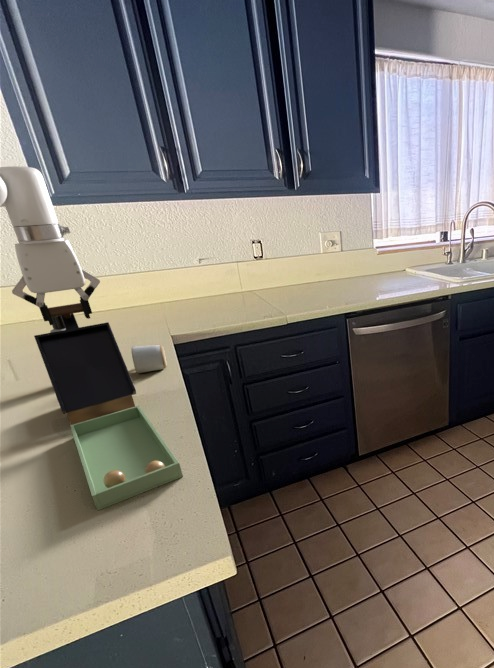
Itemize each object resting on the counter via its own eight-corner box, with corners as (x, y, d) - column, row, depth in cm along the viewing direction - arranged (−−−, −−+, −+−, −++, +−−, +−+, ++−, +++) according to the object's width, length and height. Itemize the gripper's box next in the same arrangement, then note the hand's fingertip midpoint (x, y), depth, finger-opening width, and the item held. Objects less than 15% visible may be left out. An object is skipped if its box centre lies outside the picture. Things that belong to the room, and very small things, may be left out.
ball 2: (138, 465, 74) (145, 482, 74) (147, 464, 72) (153, 481, 72) (156, 458, 77) (162, 475, 77) (165, 456, 75) (171, 473, 75)
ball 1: (100, 484, 73) (104, 494, 70) (102, 467, 72) (106, 476, 70) (122, 482, 75) (126, 491, 73) (124, 465, 74) (128, 474, 72)
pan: (63, 414, 90) (59, 406, 86) (29, 321, 93) (23, 309, 89) (136, 394, 98) (136, 385, 94) (102, 309, 101) (100, 298, 97)
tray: (97, 510, 68) (91, 496, 67) (74, 437, 90) (69, 425, 89) (183, 476, 76) (179, 462, 74) (142, 416, 98) (138, 405, 97)
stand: (71, 426, 95) (64, 408, 93) (65, 406, 105) (58, 389, 103) (135, 407, 102) (130, 390, 101) (124, 390, 112) (118, 374, 111)
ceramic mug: (168, 371, 124) (161, 346, 121) (136, 377, 121) (129, 351, 118) (168, 360, 133) (161, 337, 130) (138, 365, 129) (131, 341, 126)
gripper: (86, 230, 94) (111, 310, 102) (-15, 238, 85) (20, 325, 92) (91, 231, 89) (117, 315, 96) (-17, 239, 79) (21, 332, 86)
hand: (69, 319), depth 94 cm, fingers closed on pan, 6 cm apart
